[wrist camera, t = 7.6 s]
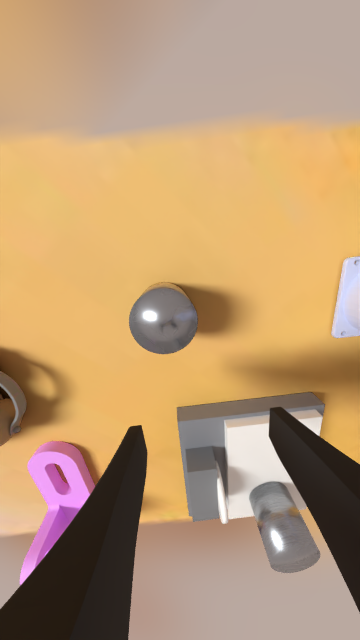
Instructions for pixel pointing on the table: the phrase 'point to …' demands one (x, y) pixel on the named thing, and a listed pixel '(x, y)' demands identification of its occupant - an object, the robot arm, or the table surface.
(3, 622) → the robot arm
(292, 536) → the cylinder
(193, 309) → the cylinder
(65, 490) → the bracket
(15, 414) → the alarm clock
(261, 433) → the scale
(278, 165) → the table surface
